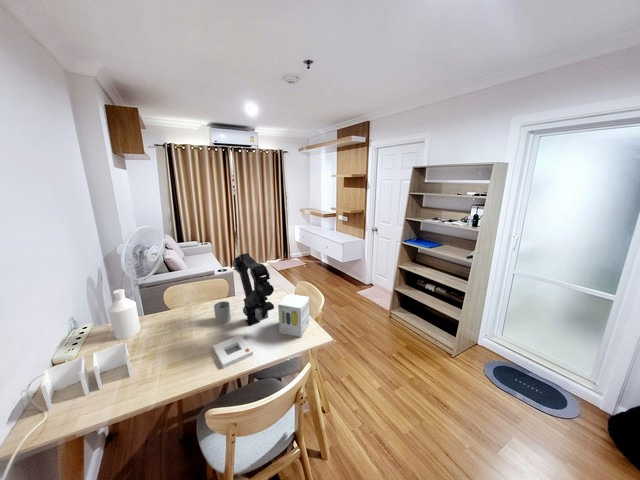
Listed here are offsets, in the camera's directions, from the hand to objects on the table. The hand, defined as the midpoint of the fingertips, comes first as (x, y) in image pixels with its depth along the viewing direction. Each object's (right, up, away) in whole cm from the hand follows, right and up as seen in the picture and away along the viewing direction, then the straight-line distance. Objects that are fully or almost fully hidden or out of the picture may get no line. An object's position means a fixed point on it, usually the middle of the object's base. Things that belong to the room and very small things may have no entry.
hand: (261, 315), depth 133 cm
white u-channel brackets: (-62, -19, -30) cm, 72 cm away
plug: (0, -1, 0) cm, 1 cm away
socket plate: (-11, -14, -12) cm, 21 cm away
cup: (-26, -7, +15) cm, 31 cm away
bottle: (-74, -10, +3) cm, 74 cm away
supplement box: (+17, -9, +7) cm, 21 cm away
